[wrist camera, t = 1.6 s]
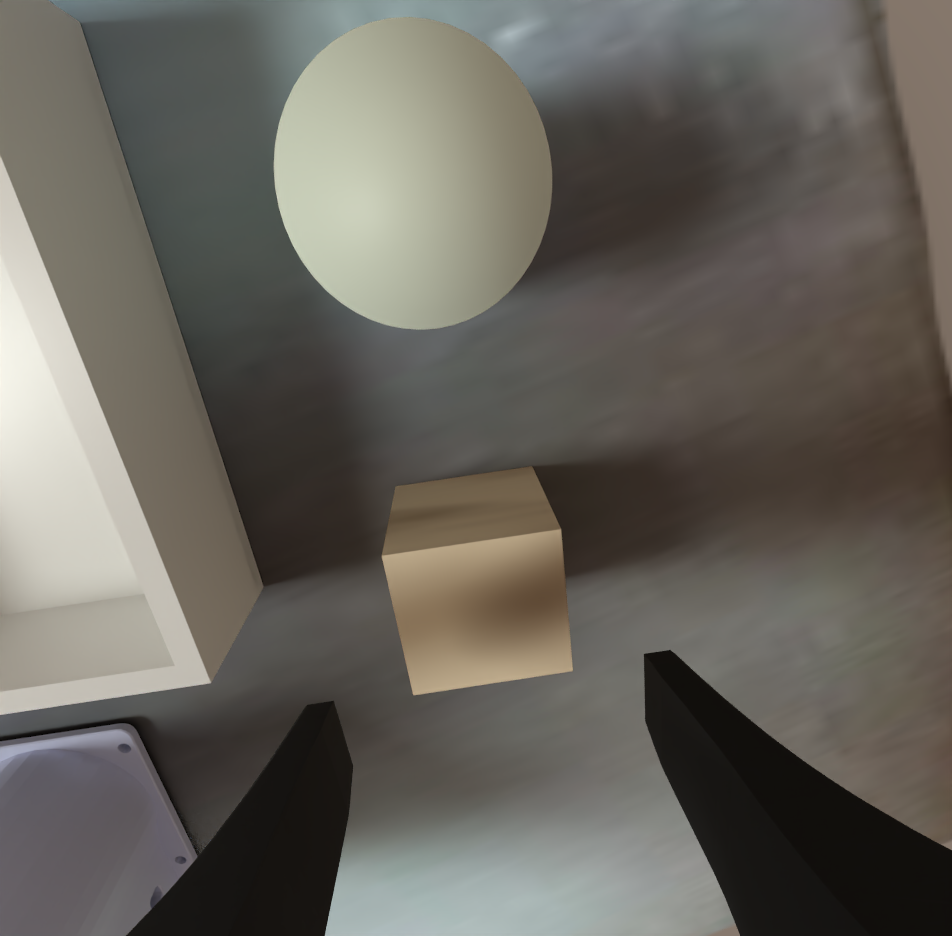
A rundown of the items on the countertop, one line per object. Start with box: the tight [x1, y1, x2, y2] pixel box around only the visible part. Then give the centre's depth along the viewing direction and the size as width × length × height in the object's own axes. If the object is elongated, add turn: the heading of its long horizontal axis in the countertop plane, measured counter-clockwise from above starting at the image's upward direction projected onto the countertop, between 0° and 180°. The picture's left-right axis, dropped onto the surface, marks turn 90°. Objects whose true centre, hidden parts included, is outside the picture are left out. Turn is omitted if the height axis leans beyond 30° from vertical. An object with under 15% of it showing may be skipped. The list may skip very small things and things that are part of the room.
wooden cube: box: [382, 466, 573, 695], centre depth 18 cm, size 5×5×5 cm
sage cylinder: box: [274, 17, 552, 330], centre depth 13 cm, size 5×5×7 cm
